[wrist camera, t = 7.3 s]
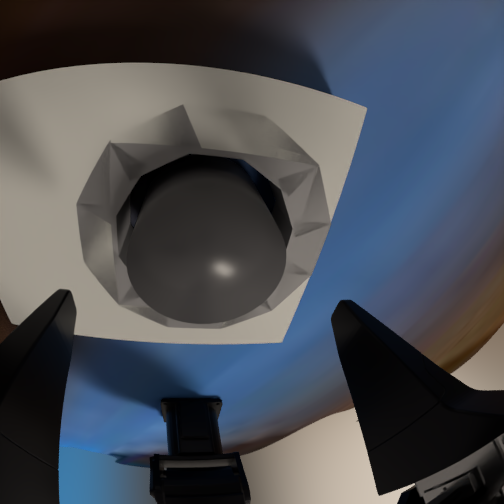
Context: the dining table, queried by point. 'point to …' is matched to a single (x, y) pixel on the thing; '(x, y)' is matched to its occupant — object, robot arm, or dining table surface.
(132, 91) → the board
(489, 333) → the dining table surface
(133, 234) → the cap
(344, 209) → the dining table surface
